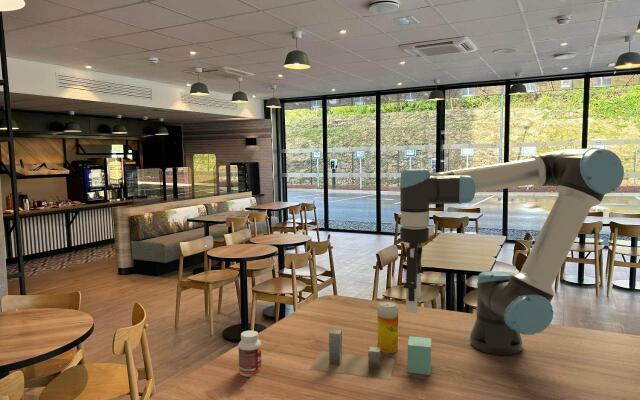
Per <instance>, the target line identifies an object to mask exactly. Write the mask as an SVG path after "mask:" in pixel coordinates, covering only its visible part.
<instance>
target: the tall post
mask: <svg viewBox="0 0 640 400" xmlns="http://www.w3.org/2000/svg"><path fill="white" fill-rule="evenodd" d="M328 352H329V364H332V365H340V364H341V362H342V354H343V330H342V329H334V328H331V329H330V331H329V333H328Z"/></svg>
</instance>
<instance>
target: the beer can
mask: <svg viewBox="0 0 640 400" xmlns="http://www.w3.org/2000/svg"><path fill="white" fill-rule="evenodd" d="M376 325H377V329H376V330H377V332H376V335H377V337H376V338H377V341H376V344H377V345H376V346H377V347H379V348H381V353H383V354H394V353H396V352H397V351H398V350H399V348H398V347H399V345H398V344H399V307H398V304H397V303H396V302H395V301H391V300H389V301H388V300H386V301H385V300H384V301H380V302H378V306H377V324H376Z"/></svg>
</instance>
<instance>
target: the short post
mask: <svg viewBox="0 0 640 400" xmlns="http://www.w3.org/2000/svg"><path fill="white" fill-rule="evenodd" d="M381 355H382V352H381V348H379V347H376V346H369V349H368V354H367V356H368V369H376V370H379V369H380V366H381V358H382V357H381Z"/></svg>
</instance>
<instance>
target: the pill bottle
mask: <svg viewBox="0 0 640 400" xmlns="http://www.w3.org/2000/svg"><path fill="white" fill-rule="evenodd" d="M240 339H241V340H240V341H239V342H238V372H239V374H240V375H241V376H242V377H246V378H249V377H252V376H253V375H254V374H255V373H258V372H260V371H261V369H262V343H261V340H260V339H259V332H258V331H256V330H245V331H242V332H241V333H240Z"/></svg>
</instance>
